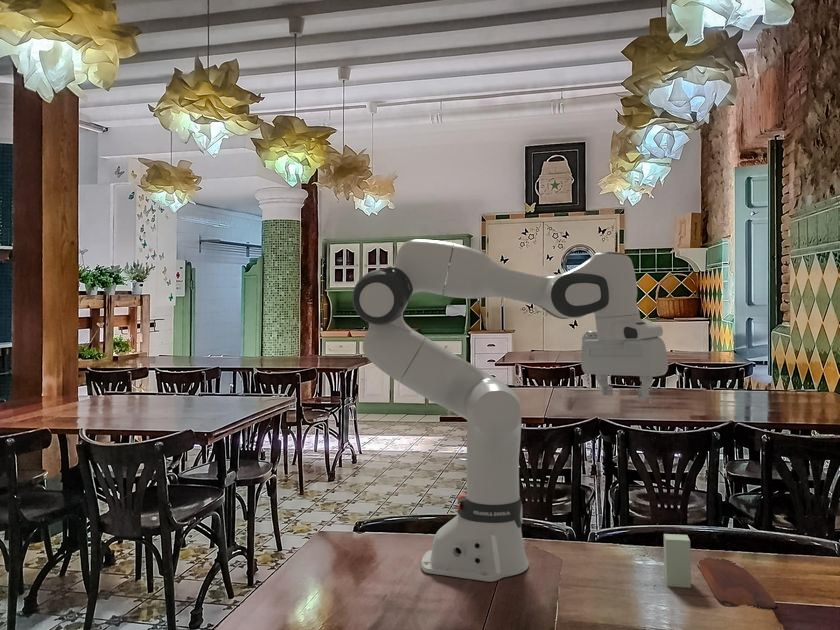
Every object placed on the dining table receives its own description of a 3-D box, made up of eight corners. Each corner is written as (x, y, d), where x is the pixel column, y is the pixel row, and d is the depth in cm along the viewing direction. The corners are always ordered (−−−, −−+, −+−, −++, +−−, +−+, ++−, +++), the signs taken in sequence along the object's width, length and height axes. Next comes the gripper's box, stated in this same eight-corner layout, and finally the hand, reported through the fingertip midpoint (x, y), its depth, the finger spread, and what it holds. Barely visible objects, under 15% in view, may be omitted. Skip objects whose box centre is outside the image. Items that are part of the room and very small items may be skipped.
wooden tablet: (780, 613, 121) (780, 603, 121) (719, 609, 123) (719, 600, 123) (739, 559, 148) (739, 551, 148) (690, 556, 149) (690, 549, 149)
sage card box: (666, 586, 133) (665, 539, 133) (664, 579, 136) (663, 533, 136) (691, 587, 132) (690, 540, 132) (688, 580, 135) (687, 534, 135)
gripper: (571, 332, 149) (577, 396, 149) (647, 330, 131) (654, 402, 132) (592, 329, 152) (598, 391, 152) (669, 326, 135) (676, 397, 135)
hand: (625, 396), depth 142 cm, fingers open, 8 cm apart
